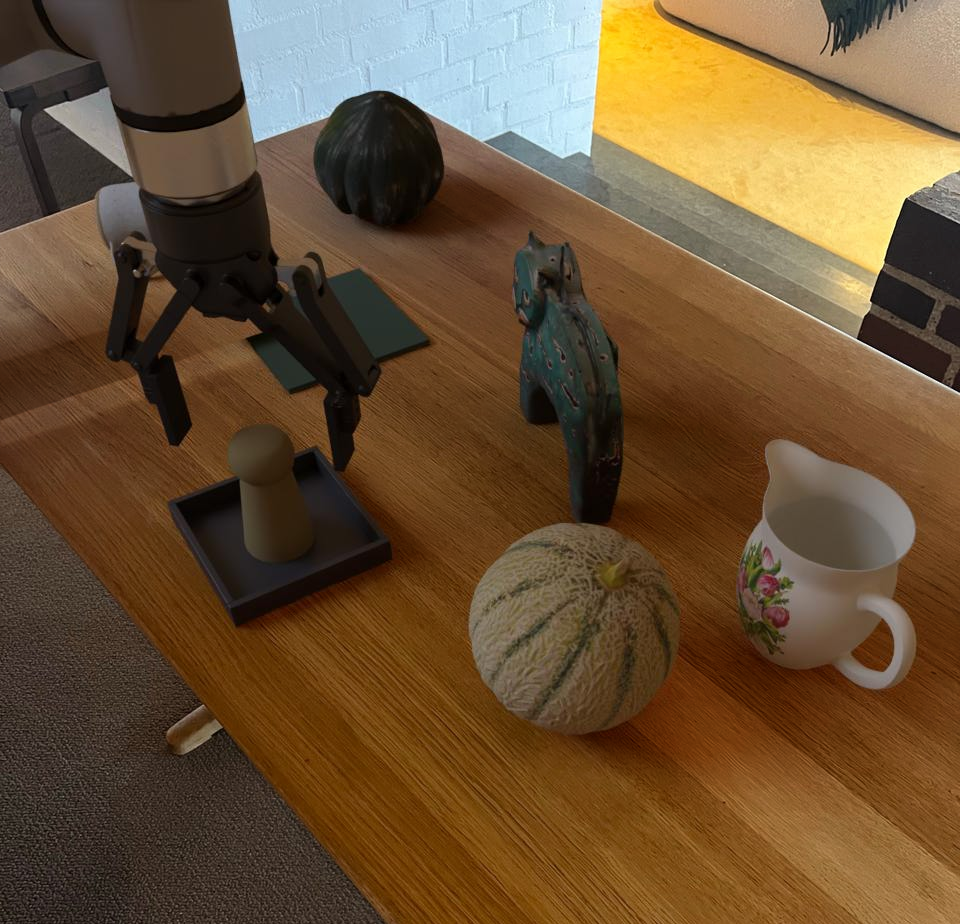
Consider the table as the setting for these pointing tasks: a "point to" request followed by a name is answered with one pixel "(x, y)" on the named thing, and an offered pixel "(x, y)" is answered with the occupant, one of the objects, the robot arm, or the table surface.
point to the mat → (370, 316)
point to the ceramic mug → (120, 215)
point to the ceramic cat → (570, 373)
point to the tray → (269, 586)
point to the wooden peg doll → (270, 494)
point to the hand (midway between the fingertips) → (262, 448)
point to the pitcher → (825, 567)
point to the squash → (379, 158)
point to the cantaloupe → (575, 628)
